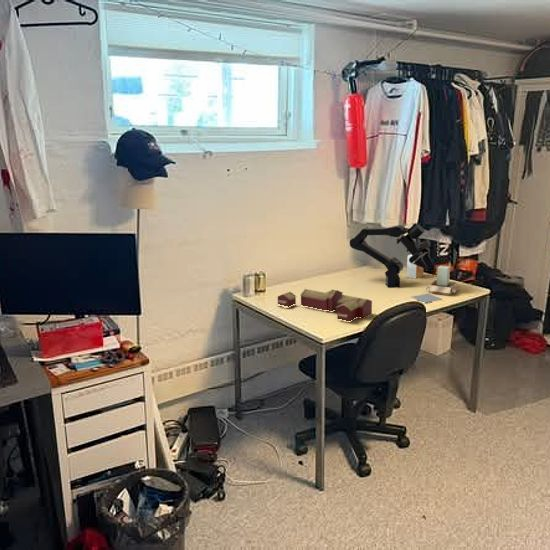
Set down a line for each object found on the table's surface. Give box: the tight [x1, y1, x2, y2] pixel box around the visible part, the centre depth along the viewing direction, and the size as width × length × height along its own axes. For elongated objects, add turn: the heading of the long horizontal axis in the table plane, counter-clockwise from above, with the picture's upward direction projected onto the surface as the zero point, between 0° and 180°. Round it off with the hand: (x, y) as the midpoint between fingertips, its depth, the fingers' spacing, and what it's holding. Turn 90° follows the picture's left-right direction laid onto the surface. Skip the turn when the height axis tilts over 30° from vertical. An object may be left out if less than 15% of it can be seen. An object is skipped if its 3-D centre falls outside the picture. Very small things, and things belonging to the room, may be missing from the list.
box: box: [436, 265, 451, 287], centre depth 280 cm, size 5×5×13 cm
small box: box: [406, 253, 425, 280], centre depth 310 cm, size 8×6×13 cm
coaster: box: [411, 293, 443, 304], centre depth 271 cm, size 11×11×1 cm
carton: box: [425, 279, 460, 296], centre depth 281 cm, size 15×15×5 cm
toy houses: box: [276, 288, 373, 321], centre depth 258 cm, size 45×20×10 cm, turn 52°
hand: (430, 267), depth 282 cm, fingers open, 9 cm apart
